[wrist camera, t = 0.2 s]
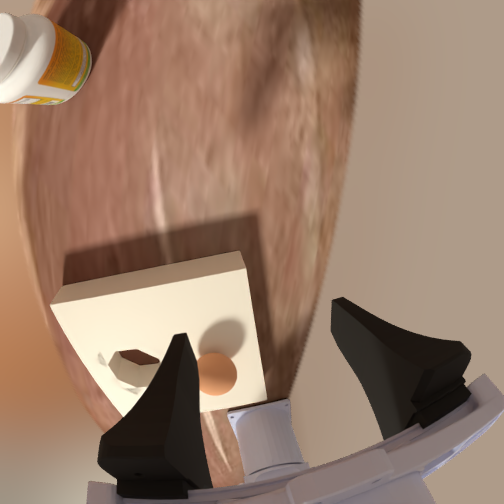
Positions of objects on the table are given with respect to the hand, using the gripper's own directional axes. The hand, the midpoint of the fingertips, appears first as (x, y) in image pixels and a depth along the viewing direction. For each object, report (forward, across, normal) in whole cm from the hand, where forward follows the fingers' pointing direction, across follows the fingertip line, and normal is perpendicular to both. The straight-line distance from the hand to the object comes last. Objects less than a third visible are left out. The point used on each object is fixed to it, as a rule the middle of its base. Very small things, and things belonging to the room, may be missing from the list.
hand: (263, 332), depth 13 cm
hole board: (+10, +8, +8) cm, 15 cm away
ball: (+5, +4, +8) cm, 10 cm away
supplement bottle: (+10, +11, -17) cm, 22 cm away
